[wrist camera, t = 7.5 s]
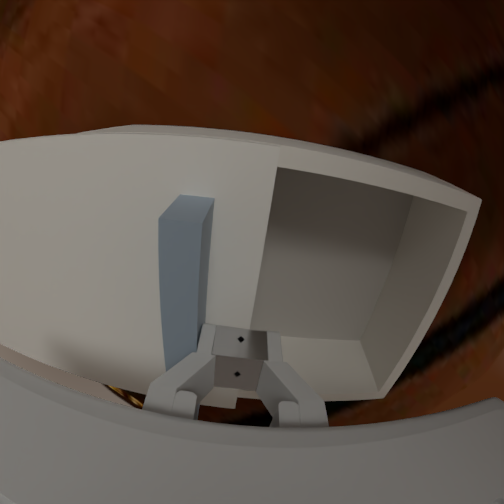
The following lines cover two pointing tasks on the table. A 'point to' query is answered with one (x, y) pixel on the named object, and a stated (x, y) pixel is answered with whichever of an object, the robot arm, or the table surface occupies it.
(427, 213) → the box
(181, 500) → the robot arm
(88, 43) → the table surface
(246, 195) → the lid
